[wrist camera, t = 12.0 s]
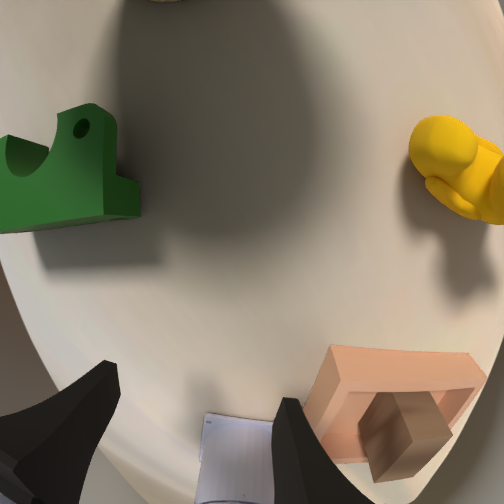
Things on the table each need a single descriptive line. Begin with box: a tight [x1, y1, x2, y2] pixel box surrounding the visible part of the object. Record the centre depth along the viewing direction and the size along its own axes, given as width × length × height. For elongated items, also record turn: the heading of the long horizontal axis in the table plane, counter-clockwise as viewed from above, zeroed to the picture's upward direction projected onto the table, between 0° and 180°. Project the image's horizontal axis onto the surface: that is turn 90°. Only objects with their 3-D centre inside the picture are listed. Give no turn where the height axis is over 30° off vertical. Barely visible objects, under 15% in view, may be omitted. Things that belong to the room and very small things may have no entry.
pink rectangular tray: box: [303, 345, 488, 464], centre depth 21 cm, size 11×15×4 cm
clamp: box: [0, 103, 141, 234], centre depth 15 cm, size 12×6×9 cm, turn 87°
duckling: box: [409, 116, 504, 225], centre depth 12 cm, size 11×5×10 cm, turn 69°
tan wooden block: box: [358, 391, 453, 483], centre depth 19 cm, size 6×4×7 cm, turn 169°
